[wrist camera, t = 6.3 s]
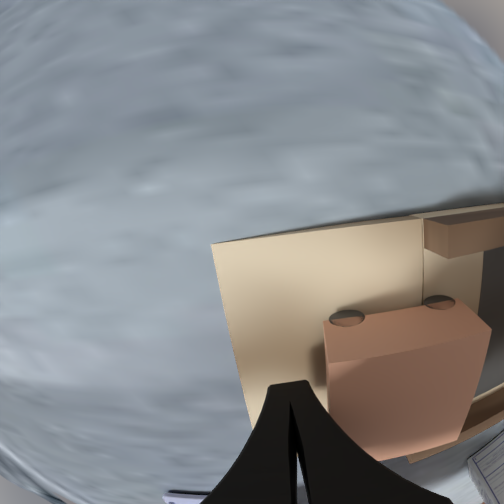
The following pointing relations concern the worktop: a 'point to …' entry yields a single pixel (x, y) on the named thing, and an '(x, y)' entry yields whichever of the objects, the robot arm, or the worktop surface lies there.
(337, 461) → the robot arm
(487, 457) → the medicine box
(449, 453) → the worktop surface
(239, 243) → the dock
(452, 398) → the peach toy brick
